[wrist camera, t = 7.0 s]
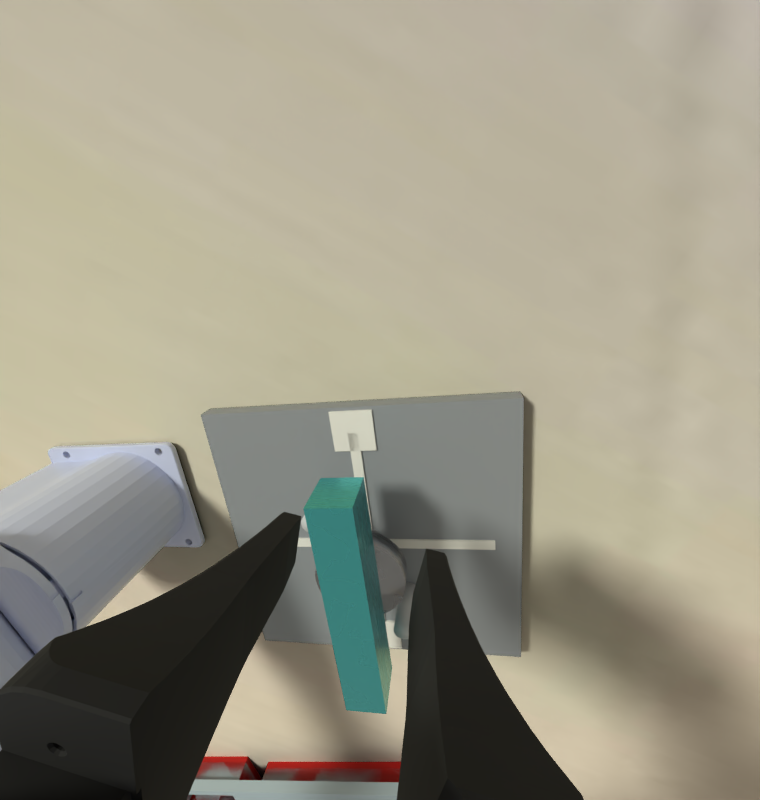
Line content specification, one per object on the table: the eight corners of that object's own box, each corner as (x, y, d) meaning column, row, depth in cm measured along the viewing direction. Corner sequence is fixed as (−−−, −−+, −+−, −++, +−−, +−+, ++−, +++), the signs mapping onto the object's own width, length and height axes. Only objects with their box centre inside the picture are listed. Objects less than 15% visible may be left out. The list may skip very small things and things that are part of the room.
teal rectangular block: (416, 650, 24) (412, 716, 20) (338, 645, 25) (321, 707, 21) (395, 464, 19) (384, 508, 16) (301, 466, 20) (273, 508, 17)
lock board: (270, 628, 29) (246, 681, 26) (210, 408, 23) (166, 437, 20) (518, 642, 26) (530, 706, 22) (520, 391, 20) (537, 421, 16)
